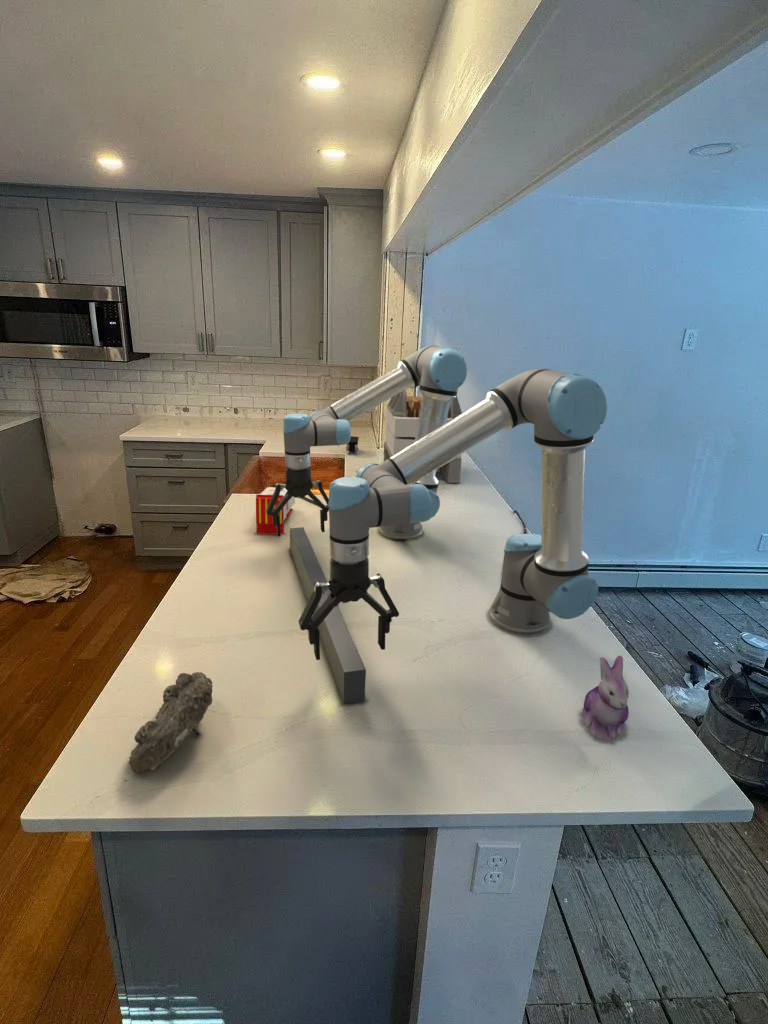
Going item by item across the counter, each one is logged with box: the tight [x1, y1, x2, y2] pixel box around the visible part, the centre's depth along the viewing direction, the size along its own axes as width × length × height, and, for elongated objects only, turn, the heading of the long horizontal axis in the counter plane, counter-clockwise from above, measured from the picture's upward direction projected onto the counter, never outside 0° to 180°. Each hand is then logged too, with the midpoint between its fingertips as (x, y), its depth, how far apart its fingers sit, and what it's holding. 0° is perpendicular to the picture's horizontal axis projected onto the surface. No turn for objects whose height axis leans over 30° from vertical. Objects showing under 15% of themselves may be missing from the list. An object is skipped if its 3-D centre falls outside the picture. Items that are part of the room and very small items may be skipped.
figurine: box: [581, 654, 630, 741], centre depth 108 cm, size 9×10×15 cm
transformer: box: [383, 389, 463, 484], centre depth 268 cm, size 34×33×41 cm
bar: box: [289, 527, 367, 705], centre depth 148 cm, size 78×4×8 cm, turn 17°
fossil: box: [128, 671, 213, 773], centre depth 102 cm, size 22×10×15 cm
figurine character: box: [345, 435, 360, 455], centre depth 308 cm, size 7×8×15 cm
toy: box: [255, 486, 296, 535], centre depth 206 cm, size 12×13×30 cm
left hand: (300, 532), depth 176 cm, fingers open, 13 cm apart
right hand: (349, 651), depth 117 cm, fingers open, 13 cm apart
